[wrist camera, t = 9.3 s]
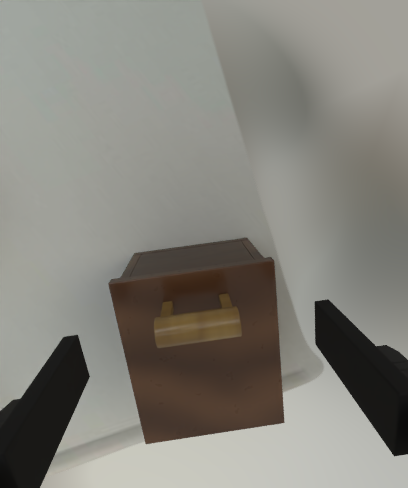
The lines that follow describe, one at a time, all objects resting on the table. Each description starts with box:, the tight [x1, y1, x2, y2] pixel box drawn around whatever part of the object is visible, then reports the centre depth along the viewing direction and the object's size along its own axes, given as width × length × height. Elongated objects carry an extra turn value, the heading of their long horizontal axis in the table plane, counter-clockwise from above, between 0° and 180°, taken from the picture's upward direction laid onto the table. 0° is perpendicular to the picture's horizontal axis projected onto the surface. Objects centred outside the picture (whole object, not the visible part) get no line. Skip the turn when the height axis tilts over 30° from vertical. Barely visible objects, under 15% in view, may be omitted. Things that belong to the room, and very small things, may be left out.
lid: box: [109, 257, 284, 444], centre depth 20 cm, size 14×12×5 cm
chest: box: [121, 238, 263, 278], centre depth 27 cm, size 14×12×9 cm
